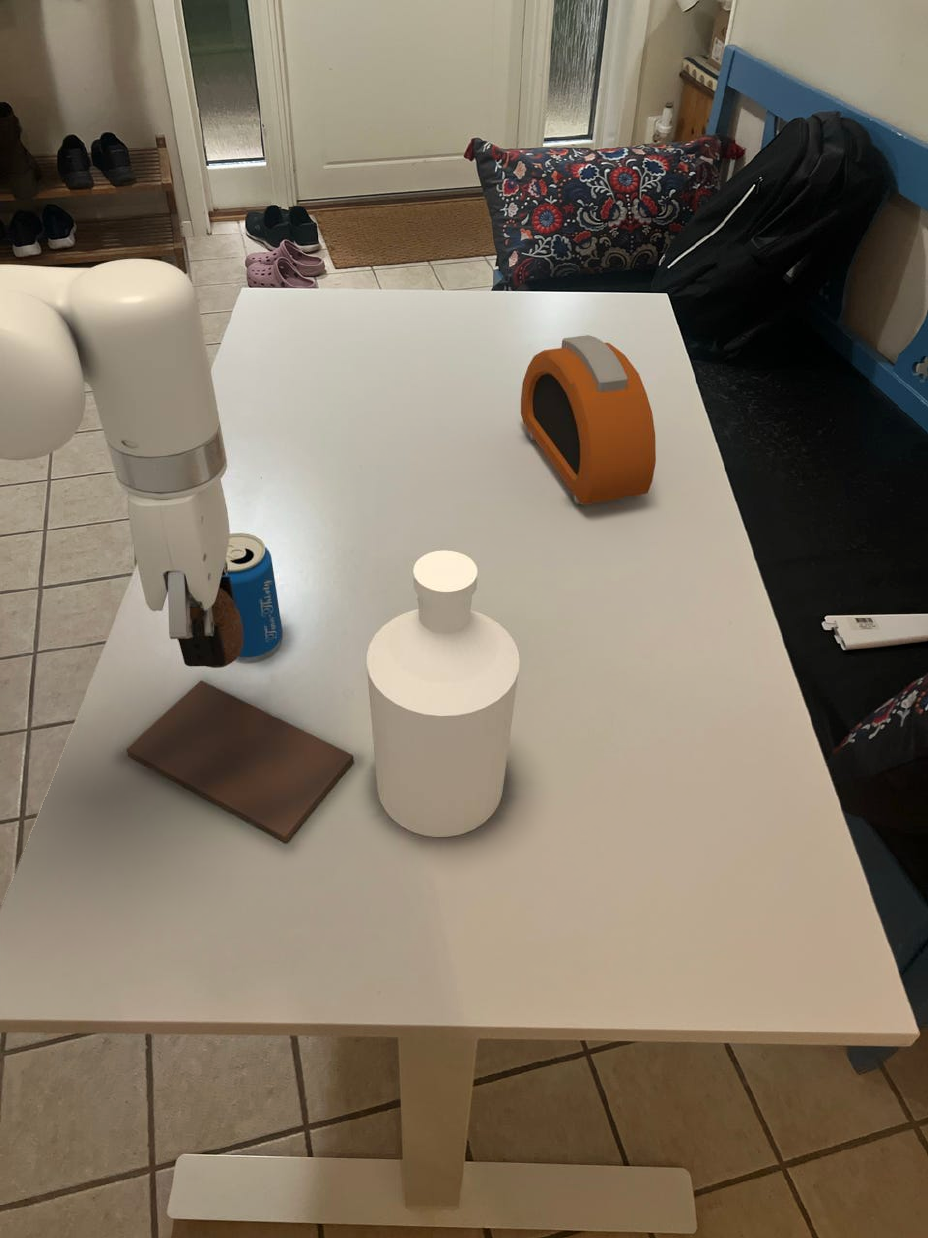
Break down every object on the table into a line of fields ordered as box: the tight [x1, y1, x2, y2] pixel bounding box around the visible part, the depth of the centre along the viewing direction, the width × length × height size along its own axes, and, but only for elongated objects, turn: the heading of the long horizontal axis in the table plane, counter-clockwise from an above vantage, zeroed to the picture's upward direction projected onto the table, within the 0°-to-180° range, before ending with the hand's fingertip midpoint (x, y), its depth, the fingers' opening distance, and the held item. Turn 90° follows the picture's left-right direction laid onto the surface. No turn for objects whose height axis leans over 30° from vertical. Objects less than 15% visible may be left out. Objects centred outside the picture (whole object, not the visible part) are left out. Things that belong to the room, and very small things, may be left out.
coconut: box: [189, 587, 243, 669], centre depth 73 cm, size 5×5×8 cm
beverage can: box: [222, 532, 283, 659], centre depth 88 cm, size 6×6×12 cm
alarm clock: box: [520, 334, 657, 506], centre depth 112 cm, size 23×9×17 cm, turn 18°
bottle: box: [366, 550, 521, 838], centre depth 71 cm, size 12×12×25 cm
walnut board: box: [125, 680, 355, 844], centre depth 81 cm, size 18×10×1 cm, turn 61°
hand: (211, 636), depth 74 cm, fingers closed on coconut, 5 cm apart
